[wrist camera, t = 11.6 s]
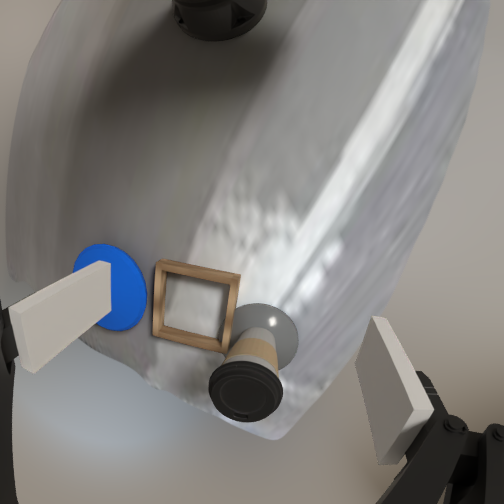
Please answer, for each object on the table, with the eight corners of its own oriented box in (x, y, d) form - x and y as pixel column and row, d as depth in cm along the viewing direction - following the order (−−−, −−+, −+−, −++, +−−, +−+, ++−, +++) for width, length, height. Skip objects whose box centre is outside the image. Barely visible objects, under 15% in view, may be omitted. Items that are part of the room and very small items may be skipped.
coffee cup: (241, 370, 50) (223, 430, 36) (220, 324, 49) (192, 377, 34) (294, 357, 49) (291, 419, 34) (275, 308, 47) (266, 361, 32)
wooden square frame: (162, 258, 49) (156, 262, 46) (240, 274, 47) (238, 279, 45) (158, 328, 52) (152, 335, 49) (229, 346, 51) (226, 354, 48)
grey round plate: (224, 296, 49) (223, 297, 48) (306, 311, 47) (306, 313, 47) (215, 362, 52) (214, 365, 51) (288, 377, 50) (288, 380, 50)
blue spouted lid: (126, 224, 48) (103, 232, 41) (169, 308, 51) (152, 326, 44) (69, 261, 52) (46, 271, 45) (107, 333, 54) (88, 350, 47)
